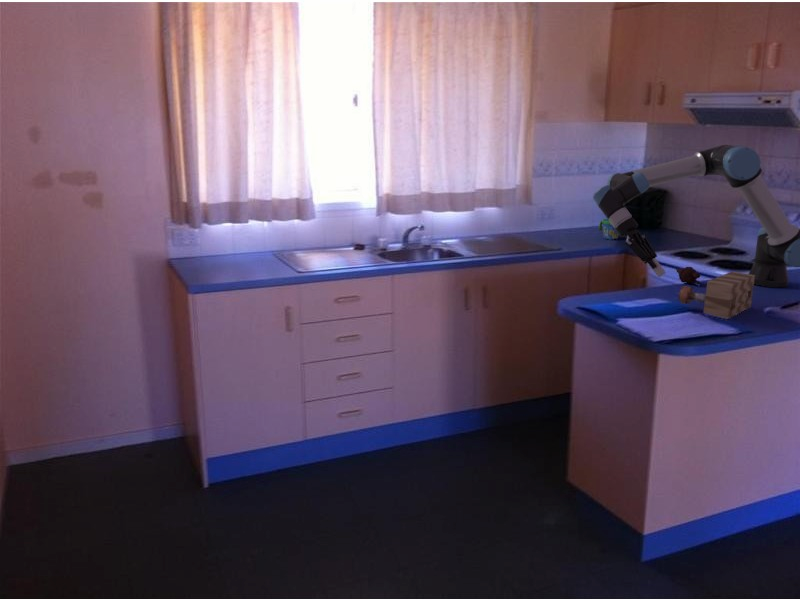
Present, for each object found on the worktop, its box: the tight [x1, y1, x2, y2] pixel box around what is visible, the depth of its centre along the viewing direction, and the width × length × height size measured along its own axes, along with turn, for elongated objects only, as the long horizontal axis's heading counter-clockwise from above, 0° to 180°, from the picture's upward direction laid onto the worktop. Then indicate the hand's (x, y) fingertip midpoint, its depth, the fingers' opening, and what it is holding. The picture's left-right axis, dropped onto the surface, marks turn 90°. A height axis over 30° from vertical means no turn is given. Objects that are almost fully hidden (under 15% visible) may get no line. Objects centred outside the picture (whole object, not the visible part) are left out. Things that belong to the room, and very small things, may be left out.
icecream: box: [675, 266, 701, 284], centre depth 290 cm, size 7×7×15 cm
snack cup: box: [598, 218, 620, 241], centre depth 386 cm, size 16×10×10 cm
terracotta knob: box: [678, 285, 706, 305], centre depth 250 cm, size 6×10×6 cm, turn 46°
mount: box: [702, 271, 755, 319], centre depth 249 cm, size 22×8×12 cm, turn 136°
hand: (662, 274), depth 256 cm, fingers closed
